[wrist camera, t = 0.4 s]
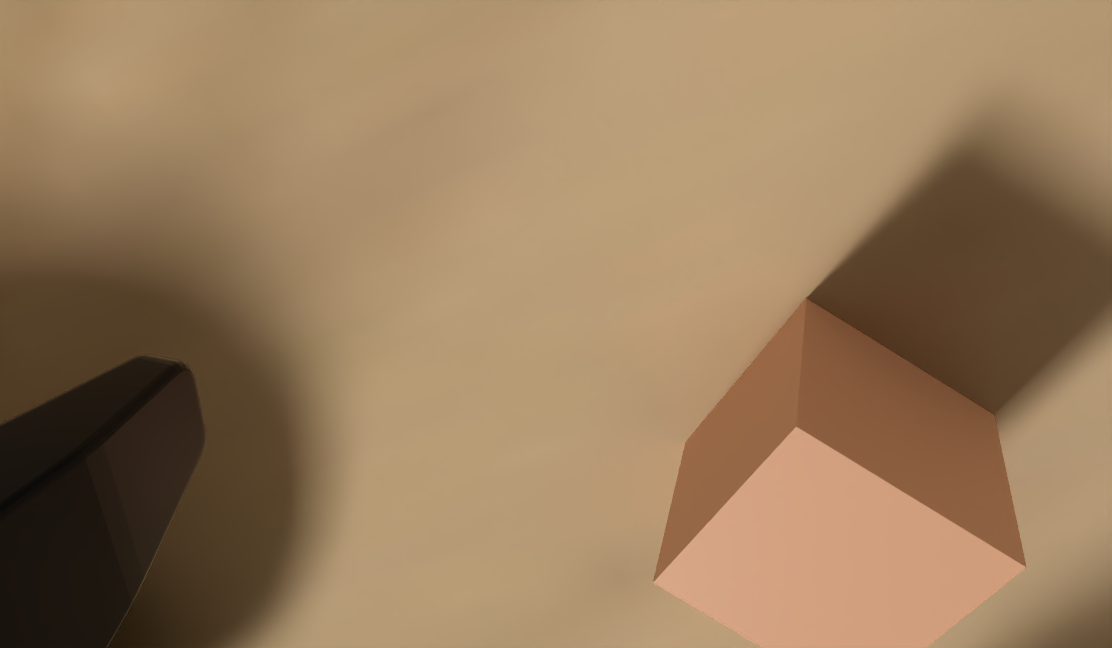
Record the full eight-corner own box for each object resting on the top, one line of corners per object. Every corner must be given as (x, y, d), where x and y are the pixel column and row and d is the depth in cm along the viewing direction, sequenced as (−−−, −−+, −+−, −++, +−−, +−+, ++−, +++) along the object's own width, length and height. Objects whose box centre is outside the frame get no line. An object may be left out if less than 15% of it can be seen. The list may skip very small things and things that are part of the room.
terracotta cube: (854, 543, 25) (855, 703, 21) (685, 440, 25) (652, 582, 21) (993, 413, 23) (1026, 567, 18) (806, 296, 22) (796, 426, 18)
